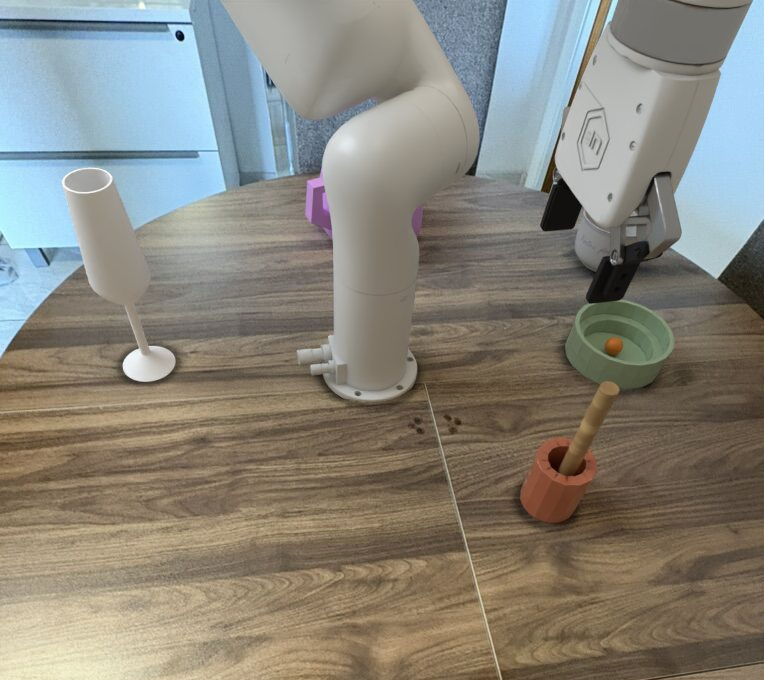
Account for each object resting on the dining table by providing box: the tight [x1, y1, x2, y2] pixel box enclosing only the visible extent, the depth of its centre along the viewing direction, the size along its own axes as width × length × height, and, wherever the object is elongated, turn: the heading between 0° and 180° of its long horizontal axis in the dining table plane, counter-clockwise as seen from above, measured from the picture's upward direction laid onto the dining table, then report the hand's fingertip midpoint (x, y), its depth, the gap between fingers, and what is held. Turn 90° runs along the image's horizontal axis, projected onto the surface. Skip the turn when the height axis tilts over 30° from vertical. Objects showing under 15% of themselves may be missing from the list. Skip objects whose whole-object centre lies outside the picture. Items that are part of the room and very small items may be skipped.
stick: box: [557, 381, 620, 476], centre depth 64 cm, size 2×2×18 cm
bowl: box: [564, 298, 676, 390], centre depth 84 cm, size 13×13×5 cm
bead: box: [605, 337, 623, 355], centre depth 85 cm, size 2×2×2 cm
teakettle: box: [304, 167, 424, 242], centre depth 95 cm, size 17×17×12 cm
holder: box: [519, 437, 598, 524], centre depth 68 cm, size 6×6×8 cm
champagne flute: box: [61, 167, 176, 383], centre depth 70 cm, size 7×7×24 cm
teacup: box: [574, 208, 638, 273], centre depth 95 cm, size 14×11×8 cm
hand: (578, 262), depth 52 cm, fingers open, 9 cm apart
